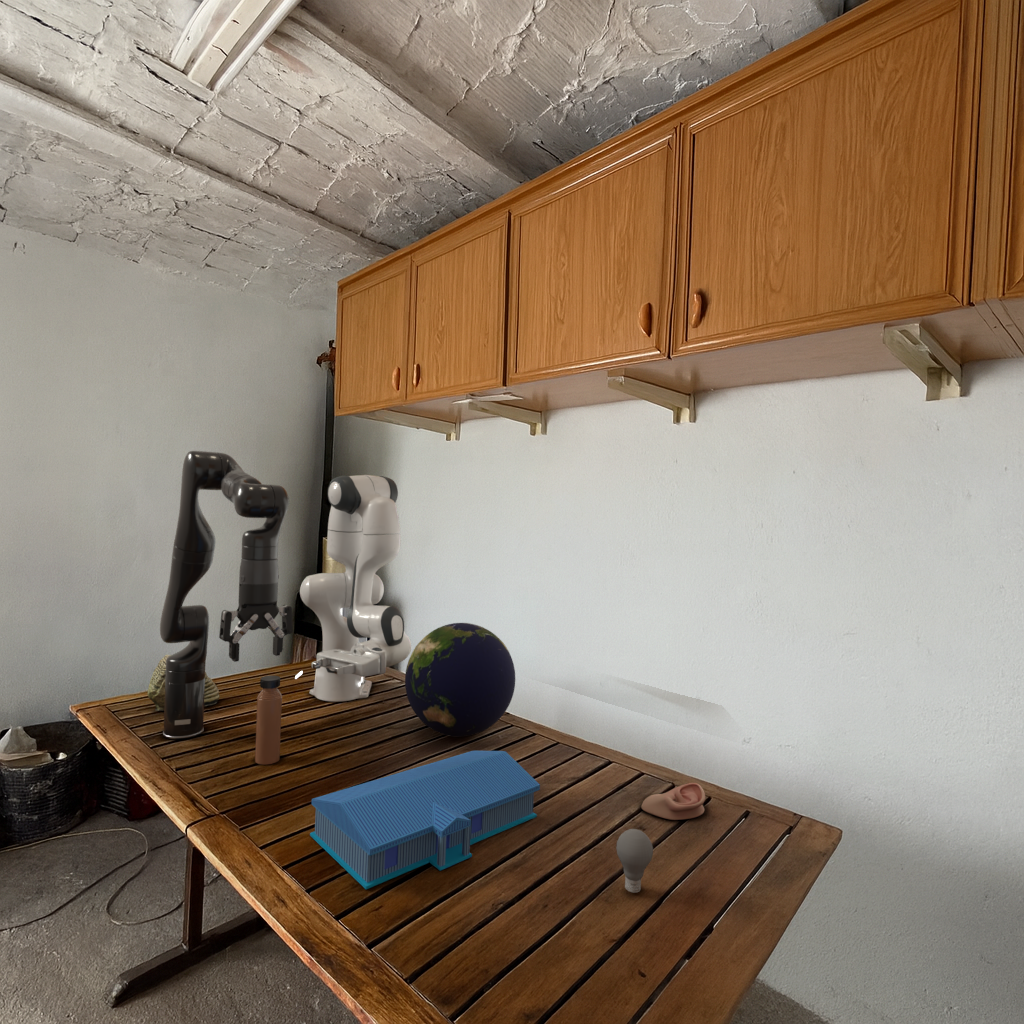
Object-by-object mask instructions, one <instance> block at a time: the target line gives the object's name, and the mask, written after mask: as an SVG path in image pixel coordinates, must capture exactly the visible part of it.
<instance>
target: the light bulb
mask: <svg viewBox="0 0 1024 1024" xmlns="http://www.w3.org/2000/svg"><path fill="white" fill-rule="evenodd" d="M615 849H616V854H617V857H618V859H619V861H620V863H621V865H622V867H623V873H624V874H623V875H624V876H625V878H624V888H625V890H627V891H628V892H630V893H634V894H635V893H639V892H640V891H641V889H642V887H641V886H642V879H643V877H644V875H645V871H646V868H647V867H648V866H649V864H650V863H651V861H652V859H653V855H654V847H653V843H652V841H651V838H649V836H648V835H647V834H646V833H645V832H643V831H642V830H641V829H636V828H629V829H627V830H625V831H623V832H622V833H621V834H620V835H619V837H618V839H617V841H616V847H615Z"/></svg>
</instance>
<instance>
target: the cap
mask: <svg viewBox="0 0 1024 1024" xmlns="http://www.w3.org/2000/svg"><path fill="white" fill-rule="evenodd" d="M280 686H281V676H279V675H264V676H262V677H260V680H259V687H260V688H262V689H263V688H265V689H271V688H277V689H278V688H279V687H280Z"/></svg>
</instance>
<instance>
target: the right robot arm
mask: <svg viewBox="0 0 1024 1024" xmlns="http://www.w3.org/2000/svg"><path fill="white" fill-rule="evenodd" d="M398 496H399V492H398V486H397V484H396V482H395V480H394V479H392V478H390V477H388V476H384V475H379V476H378V475H372V474H361V475H360V474H359V475H345V474H344V475H340V476H336V477H334V478H333V479H331V481H330V482H329V484H328V487H327V499H328V502H329V504H330V510H329V516H328V522H327V537H326V552H327V555H328V556H329V558H330V559H332V560H333V561H335V562H336V563H339V564H341V565H343V566H344V567H345V571H344V572H321V573H316V574H315V573H314V574H310V575H307V576H306V577H305V578H304V579H303V581H302V582H301V585H300V588H299V595H300V599H301V601H302V602H303V604H304V605H305V606H306V607H307V608H309V609H310V610H312V611H313V612H314V614H315V615H316V616H317V618H318V620H319V623H320V625H321V631H322V650H321V651H319V652H317V654H316V660H314V661H312V662H311V669H313V670H315V675H314V683H313V684H314V686H313V688H311V689H309V695H312V696H314V697H315V698H316V699H317V700H320V701H325V702H337V703H339V702H347V701H353V700H356V699H365V698H368V697H369V695H370V691H371V689H372V685H373V682H372V681H371V680H368V679H366V677H371V676H375V675H384V674H386V671H387V668H390V667H392V666H395V665H398V664H400V663H402V662H403V661H405V660H406V659H407V658H408V657H409V655H411V651H412V642H411V639H410V637H409V636H408V635H407V633H406V631H405V620H404V619H405V618H404V615H403V614H402V612H401V610H400V609H399V608H398V607H396V606H393V605H377V604H379V603H380V601H381V600H382V598H383V596H384V593H385V586H384V582H383V580H382V579H381V577H380V576H379V575H378V574H376V573H377V572H378V570H379V569H381V568H383V567H384V566H386V565H389V564H390V563H391V562H392V561H394V560H395V559H396V558H397V556H398V555H399V553H400V550H401V541H402V540H401V525H400V523H401V522H400V517H399V511H398V508H397V504H396V503H397V500H398ZM343 608H345V609H346V608H349V609H348V612H347V617H346V616H344V615H342V614H341V609H343ZM366 638H367V639H368V638H369V640H365V641H361V642H360V639H366ZM302 675H303V670H301V671H299V672H298V673H297V674H296V675H295V677H294V679H295V680H297V679H298V678H299V677H300V676H302Z"/></svg>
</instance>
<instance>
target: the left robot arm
mask: <svg viewBox="0 0 1024 1024" xmlns="http://www.w3.org/2000/svg"><path fill="white" fill-rule="evenodd" d="M204 490H206V491H221V493H222V495H223V496H224V497H225V499H227V500H228V501H229V502H231V503H232V504H233V506H234V510H235V512H236V514H237V515H238V516H240V517H242V518H246V519H265V521H264V523H263V524H262V525H261V526H260V527H258V528H253V529H248V530H246V531H244V533H243V534H242V538H241V559H240V566H239V576H238V580H239V581H238V606H237V609H236V610H228V609H223V610H222V611H221V613H220V622H219V623H220V626H219V635H218V638H219V639H220V640H222V641H223V642H228V657H229V659H231V661H232V662H234V663H235V662H240V644H241V643H239V642H240V641H241V639H242V638H243V636H244V635H246V634H247V633H248V631H249V630H250V631H256V630H258V629H260V630H267V628H268V629H269V631H271V633H272V634H273V635H274V636H273V637H272V655H274V656H276V657H277V656H278V657H279V656H280V655H281V653H282V652H283V650H284V648H283V646H284V637H286V636H287V635H291V634H292V633H293V607H292V606H290V605H287V604H282V606H278V594H279V592H278V591H279V579H280V575H279V561H278V560H279V559H278V557H279V539H280V535H281V532H282V527H283V525H284V521H285V518H286V516H287V513H288V509H289V506H290V505H289V504H290V497H289V494H288V491H287V490H286V489H285V487H283V486H282V485H278V484H262V482H261V481H260V480H259V479H257V478H256V477H254V476H252V475H251V474H248V473H246V472H245V471H244V469H243V468H242V467H241V466H240V465H239V463H238V462H237V461H236V460H235V459H234V458H233V457H232V456H231V455H229V454H227V453H224V452H216V451H205V450H204V451H203V450H191V451H188V452H187V453H186V455H185V457H184V460H183V463H182V471H181V483H180V500H179V509H178V510H179V512H178V518H177V524H176V530H175V535H174V542H173V546H172V554H171V563H170V564H171V565H170V572H169V579H168V586H167V590H166V594H165V599H164V603H163V608H162V611H161V616H160V622H159V634H160V635H159V636H160V638H161V640H162V641H163V642H164V643H166V644H178V643H188V644H187V645H186V646H184V647H183V648H182V649H180V650H179V651H177V652H175V653H173V654H170V655H171V656H169V657H168V658H167V660H166V674H165V705H164V710H163V731H162V737H164V738H166V739H169V740H185V739H190V738H191V739H192V738H194V737H197V736H199V735H202V734H203V732H204V730H205V729H204V722H205V721H204V718H205V706H204V693H205V672H206V664H207V663H206V660H207V653H208V640H209V633H210V631H209V630H210V615H209V614H210V613H209V610H208V609H207V607H206V606H205V605H203V604H194V605H193V604H192V605H183V604H184V603H185V600H186V598H187V596H188V595H189V593H190V592H191V590H192V589H193V588H194V587H195V586H196V585H197V584H198V583H199V581H200V580H201V579H202V578H203V577H204V576H205V575H206V573H208V571H209V570H210V568H211V566H212V564H213V561H214V554H215V548H216V536H215V534H214V531H213V529H212V526H210V524H209V522H208V521H207V519H206V517H205V516H204V513H203V511H202V508H201V507H200V506H201V505H200V503H199V492H200V491H204ZM278 615H279V616H281V626H282V627H281V628H280V626H279V624H278V623H277V622H276V620H275V619H276V617H277V616H278ZM235 618H237V619H238V622H237V624H236V626H234V629H233V631H231V630H232V623H233V622H234V621H235Z"/></svg>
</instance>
